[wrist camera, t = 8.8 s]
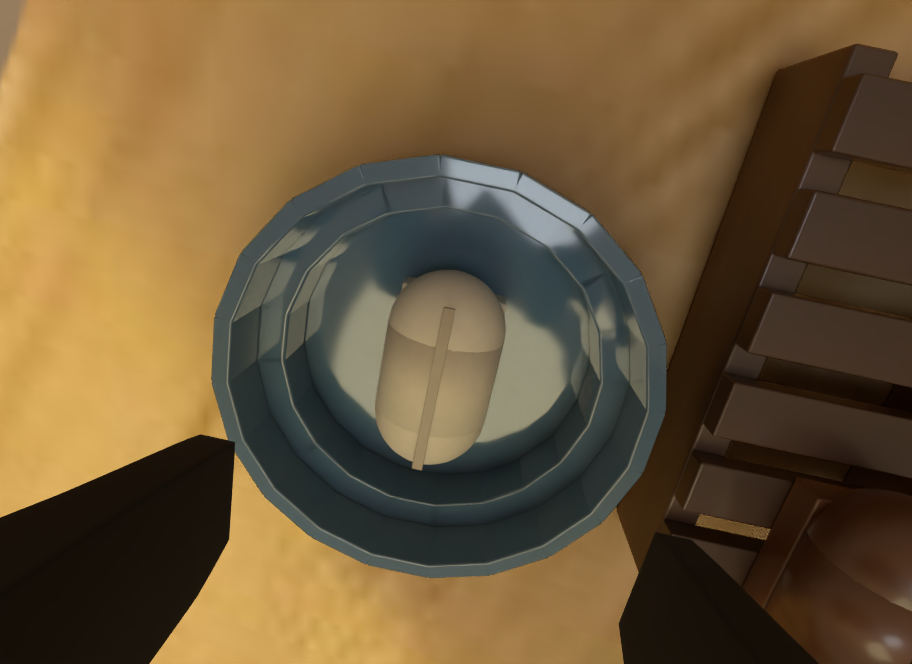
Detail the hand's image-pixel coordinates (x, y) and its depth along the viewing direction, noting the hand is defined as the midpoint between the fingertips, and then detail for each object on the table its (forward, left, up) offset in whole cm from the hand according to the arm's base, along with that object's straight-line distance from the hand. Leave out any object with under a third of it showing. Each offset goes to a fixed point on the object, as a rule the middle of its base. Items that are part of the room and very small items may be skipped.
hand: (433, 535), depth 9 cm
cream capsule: (0, +1, -9) cm, 9 cm away
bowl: (0, +1, -9) cm, 9 cm away
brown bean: (-2, -11, -5) cm, 12 cm away
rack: (+3, -11, -9) cm, 14 cm away
